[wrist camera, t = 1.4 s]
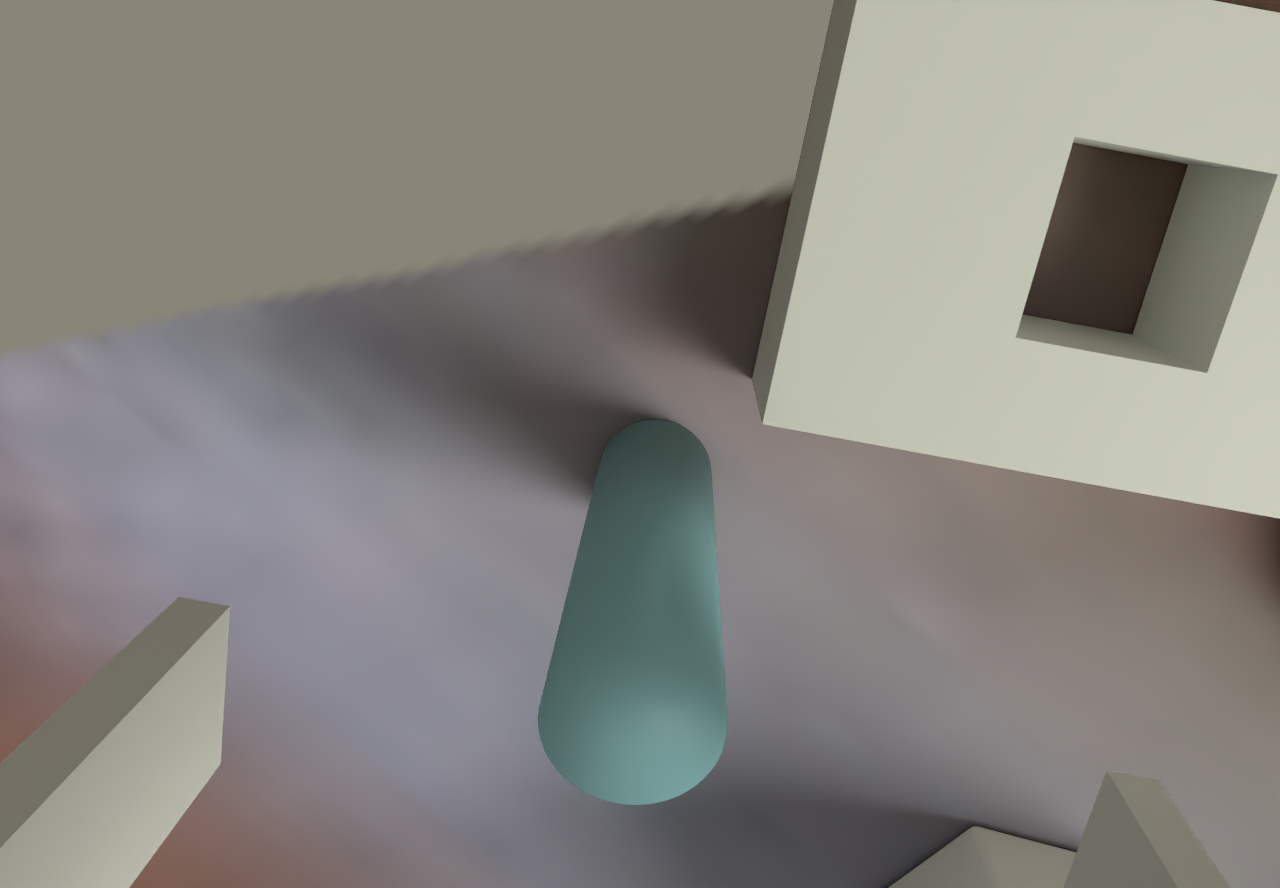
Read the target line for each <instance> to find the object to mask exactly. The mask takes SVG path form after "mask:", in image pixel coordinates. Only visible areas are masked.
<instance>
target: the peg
mask: <svg viewBox="0 0 1280 888" xmlns="http://www.w3.org/2000/svg"><path fill="white" fill-rule="evenodd" d="M538 726H539V733H540V738H541V742H542V744H543V747H544V750H545V752H546V754H547V756H548V758H549V759H550V761H551V762H552V764H553V765H554V767H555V768H556V769H557V770H558V771H559V773H560V774H561V775H562V776H563V777H564V778H565V779H567V780H568V781H569V782H570V783H571V784H573V785H574V786H575V787H577V788H579V789H580V790H582V791H583V792H585V793H587V794H589V795H591V796H593V797H596V798H599V799H602V800H605V801H609V802H613V803H618V804H626V805H644V804H653V803H658V802H662V801H666V800H669V799H672V798H675V797H677V796H679V795H681V794H683V793H685V792H687V791H688V790H690V789H691V788H693V787H695V786H696V785H697V784H698V783H699V782H701V781H702V780H703V779H704V778H705V777H706V776H707V775H708V774H709V773H710V771H711V770H712V769H713V767H714V766H715V764H716V763H717V761H718V759H719V757H720V755H721V753H722V751H723V748H724V745H725V741H726V735H727V708H726V693H725V677H724V661H723V646H722V630H721V615H720V599H719V583H718V568H717V552H716V537H715V521H714V505H713V490H712V474H711V465H710V460H709V457H708V454H707V452H706V449H705V448H704V446H703V445H702V443H701V442H700V441H699V439H698V438H697V437H696V436H695V435H694V434H693V433H692V432H690V431H689V430H687V429H686V428H684V427H682V426H681V425H678V424H676V423H673V422H670V421H666V420H643V421H639V422H636V423H633V424H631V425H629V426H627V427H625V428H623V429H622V430H620V431H619V432H618V433H617V434H616V435H615V436H614V437H613V438H612V439H611V440H610V441H609V443H608V444H607V446H606V447H605V449H604V451H603V454H602V456H601V460H600V464H599V468H598V472H597V476H596V480H595V484H594V488H593V492H592V496H591V500H590V504H589V508H588V513H587V517H586V521H585V525H584V529H583V533H582V537H581V541H580V545H579V549H578V553H577V557H576V561H575V565H574V569H573V573H572V577H571V581H570V585H569V589H568V593H567V597H566V601H565V605H564V609H563V613H562V617H561V621H560V626H559V630H558V634H557V638H556V642H555V646H554V650H553V654H552V658H551V662H550V666H549V670H548V674H547V678H546V682H545V686H544V690H543V694H542V698H541V702H540V706H539V714H538Z"/></svg>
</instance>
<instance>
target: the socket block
mask: <svg viewBox="0 0 1280 888" xmlns="http://www.w3.org/2000/svg"><path fill="white" fill-rule="evenodd" d="M1073 143H1077V144H1082V145H1088V146H1093V147H1098V148H1104V149H1109V150H1114V151H1120V152H1125V153H1131V154H1136V155H1141V156H1147V157H1152V158H1157V159H1163V160H1168V161H1173V162H1179V163H1184V164H1188V167H1187V170H1186V173H1185V176H1184V179H1183V182H1182V185H1181V188H1180V191H1179V194H1178V197H1177V200H1176V203H1175V206H1174V209H1173V212H1172V215H1171V218H1170V222H1169V225H1168V228H1167V231H1166V234H1165V237H1164V240H1163V243H1162V246H1161V249H1160V252H1159V255H1158V258H1157V261H1156V264H1155V267H1154V270H1153V273H1152V276H1151V279H1150V282H1149V285H1148V288H1147V291H1146V294H1145V298H1144V301H1143V304H1142V307H1141V310H1140V313H1139V316H1138V319H1137V322H1136V325H1135V328H1134V331H1133V334H1126V333H1121V332H1115V331H1110V330H1104V329H1099V328H1094V327H1088V326H1083V325H1077V324H1072V323H1067V322H1061V321H1056V320H1050V319H1045V318H1039V317H1034V316H1029V315H1023V311H1024V307H1025V304H1026V300H1027V297H1028V294H1029V290H1030V287H1031V283H1032V280H1033V277H1034V273H1035V270H1036V266H1037V263H1038V260H1039V256H1040V253H1041V249H1042V246H1043V243H1044V239H1045V236H1046V232H1047V229H1048V226H1049V222H1050V219H1051V215H1052V212H1053V209H1054V205H1055V202H1056V198H1057V195H1058V192H1059V188H1060V185H1061V181H1062V178H1063V175H1064V171H1065V168H1066V164H1067V161H1068V158H1069V154H1070V151H1071V147H1072V144H1073ZM752 382H753V386H754V391H755V395H756V399H757V404H758V408H759V412H760V416H761V421H762V424H764V425H770V426H775V427H781V428H786V429H792V430H797V431H803V432H808V433H814V434H819V435H825V436H830V437H836V438H841V439H846V440H852V441H857V442H863V443H868V444H874V445H879V446H885V447H890V448H896V449H901V450H907V451H912V452H918V453H923V454H929V455H934V456H940V457H945V458H951V459H956V460H961V461H967V462H972V463H978V464H983V465H989V466H994V467H1000V468H1005V469H1011V470H1016V471H1022V472H1027V473H1033V474H1038V475H1044V476H1049V477H1055V478H1060V479H1066V480H1071V481H1076V482H1082V483H1087V484H1093V485H1098V486H1104V487H1109V488H1115V489H1120V490H1126V491H1131V492H1137V493H1142V494H1148V495H1153V496H1159V497H1164V498H1170V499H1175V500H1181V501H1186V502H1191V503H1197V504H1202V505H1208V506H1213V507H1219V508H1224V509H1230V510H1235V511H1241V512H1246V513H1252V514H1257V515H1263V516H1268V517H1274V518H1279V519H1280V13H1278V12H1272V11H1267V10H1262V9H1256V8H1251V7H1246V6H1240V5H1235V4H1230V3H1225V2H1219V1H1214V0H834V4H833V8H832V13H831V18H830V22H829V27H828V31H827V36H826V41H825V45H824V50H823V55H822V59H821V63H820V68H819V73H818V77H817V82H816V87H815V91H814V96H813V100H812V105H811V110H810V114H809V119H808V123H807V128H806V133H805V137H804V142H803V147H802V152H801V156H800V160H799V165H798V170H797V174H796V179H795V183H794V188H793V193H792V197H791V202H790V206H789V211H788V216H787V220H786V225H785V229H784V234H783V239H782V243H781V248H780V253H779V257H778V262H777V266H776V271H775V276H774V280H773V285H772V289H771V294H770V299H769V303H768V308H767V312H766V317H765V322H764V326H763V331H762V336H761V340H760V345H759V349H758V354H757V359H756V363H755V368H754V372H753V377H752Z"/></svg>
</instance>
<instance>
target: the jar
mask: <svg viewBox="0 0 1280 888" xmlns="http://www.w3.org/2000/svg"><path fill="white" fill-rule="evenodd" d="M1075 855H1076V852H1073V851H1069V850H1065V849H1061V848H1058V847H1054V846H1050V845H1046V844H1042V843H1038V842H1035V841H1031V840H1027V839H1023V838H1019V837H1016V836H1012V835H1008V834H1004V833H1001V832H997V831H993V830H989V829H986V828H982V827H977V826H974V827H971V828H969V829H968V830H966V831H965V832H964V833H962V834H961V835H960V836H958V837H957V838H956V839H954V840H953V841H951V842H950V843H949V844H947V845H946V846H945V847H943V848H942V849H940V850H939V851H938V852H936V853H935V854H934V855H932V856H931V857H929V858H928V859H927V860H925V861H924V862H923V863H921V864H920V865H918V866H917V867H916V868H914V869H913V870H911V871H910V872H909V873H907V874H906V875H905V876H903V877H902V878H900V879H899V880H898V881H896V882H895V883H894V884H892V885H891V886H889V887H888V888H1063V887H1064V885H1065V882H1066V879H1067V876H1068V874H1069V871H1070V868H1071V866H1072V863H1073V860H1074V858H1075Z"/></svg>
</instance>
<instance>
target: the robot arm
mask: <svg viewBox="0 0 1280 888" xmlns="http://www.w3.org/2000/svg"><path fill="white" fill-rule="evenodd" d="M229 615H230V606H225V605H220V604H214V603H209V602H204V601H198V600H193V599H188V598H182V597H178V598H177V599H176V600H175V601H174V602H173V603H172V604H171V605H170V606H169V607H167V608H166V609H165V610H164V611H163V612H162V613H161V614H160V615H159V616H158V617H157V618H156V619H155V620H154V621H152V622H151V623H150V624H149V625H148V626H147V627H146V628H145V629H144V630H143V631H142V632H141V633H140V634H138V635H137V636H136V637H135V638H134V639H133V640H132V641H131V642H130V643H129V644H128V645H127V646H126V647H125V648H123V649H122V650H121V651H120V652H119V653H118V654H117V655H116V656H115V657H114V658H113V659H112V660H111V661H109V662H108V663H107V664H106V665H105V666H104V667H103V668H102V669H101V670H100V671H99V672H98V673H97V674H96V675H94V676H93V677H92V678H91V679H90V680H89V681H88V682H87V683H86V684H85V685H84V686H83V687H82V688H81V689H79V690H78V691H77V692H76V693H75V694H74V695H73V696H72V697H71V698H70V699H69V700H68V701H67V702H65V703H64V704H63V705H62V706H61V707H60V708H59V709H58V710H57V711H56V712H55V713H54V714H53V715H52V716H50V717H49V718H48V719H47V720H46V721H45V722H44V723H43V724H42V725H41V726H40V727H39V728H38V729H36V730H35V731H34V732H33V733H32V734H31V735H30V736H29V737H28V738H27V739H26V740H25V741H24V742H23V743H21V744H20V745H19V746H18V747H17V748H16V749H15V750H14V751H13V752H12V753H11V754H10V755H9V756H7V757H6V758H5V759H4V760H3V761H2V762H1V763H0V888H129V887H130V886H131V885H132V883H133V882H134V881H135V879H136V878H137V876H138V875H139V874H140V872H141V871H142V870H143V868H144V867H145V866H146V864H147V863H148V862H149V860H150V859H151V857H152V856H153V855H154V853H155V852H156V851H157V849H158V848H159V847H160V845H161V844H162V843H163V841H164V840H165V838H166V837H167V836H168V834H169V833H170V832H171V830H172V829H173V828H174V826H175V825H176V824H177V822H178V821H179V819H180V818H181V817H182V815H183V814H184V813H185V811H186V810H187V809H188V807H189V806H190V805H191V803H192V802H193V800H194V799H195V798H196V796H197V795H198V794H199V792H200V791H201V790H202V788H203V787H204V786H205V784H206V783H207V781H208V780H209V779H210V777H211V776H212V775H213V773H214V772H215V771H216V769H217V768H218V767H219V765H220V764H221V749H222V732H223V715H224V698H225V682H226V665H227V648H228V631H229ZM1063 888H1230V886H1229V885H1228V883H1227V882H1226V880H1225V879H1224V877H1223V876H1222V874H1221V873H1220V871H1219V870H1218V868H1217V867H1216V865H1215V864H1214V862H1213V861H1212V859H1211V858H1210V856H1209V855H1208V853H1207V852H1206V850H1205V849H1204V847H1203V846H1202V845H1201V843H1200V842H1199V840H1198V839H1197V837H1196V836H1195V834H1194V833H1193V831H1192V830H1191V828H1190V827H1189V825H1188V824H1187V822H1186V821H1185V819H1184V818H1183V816H1182V815H1181V813H1180V812H1179V810H1178V809H1177V807H1176V806H1175V804H1174V803H1173V801H1172V800H1171V798H1170V797H1169V796H1168V794H1167V793H1166V791H1165V790H1164V788H1163V787H1162V785H1161V784H1160V782H1159V781H1158V780H1155V779H1149V778H1144V777H1139V776H1133V775H1128V774H1123V773H1117V772H1112V771H1107V772H1106V774H1105V777H1104V780H1103V782H1102V785H1101V788H1100V790H1099V793H1098V796H1097V799H1096V801H1095V804H1094V807H1093V809H1092V812H1091V815H1090V817H1089V820H1088V823H1087V825H1086V828H1085V831H1084V833H1083V836H1082V839H1081V842H1080V844H1079V847H1078V850H1077V852H1076V855H1075V858H1074V860H1073V863H1072V866H1071V868H1070V871H1069V874H1068V876H1067V879H1066V882H1065V885H1064V887H1063Z"/></svg>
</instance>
